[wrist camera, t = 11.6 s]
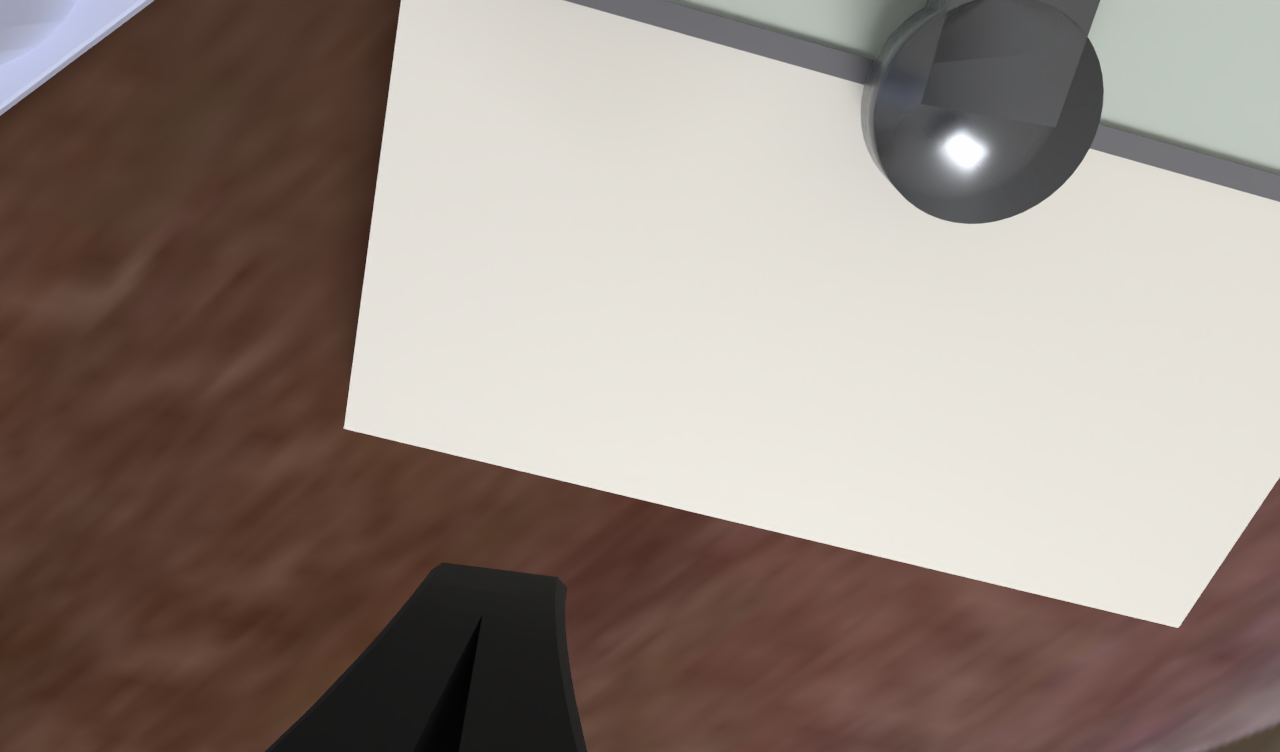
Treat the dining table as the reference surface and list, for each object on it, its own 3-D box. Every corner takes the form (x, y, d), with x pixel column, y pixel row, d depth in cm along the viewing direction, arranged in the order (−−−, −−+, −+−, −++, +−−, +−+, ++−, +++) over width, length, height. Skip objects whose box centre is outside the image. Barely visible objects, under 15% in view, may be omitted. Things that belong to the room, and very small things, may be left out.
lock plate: (362, 401, 19) (315, 470, 16) (580, -1139, 10) (549, -1490, 8) (1152, 591, 20) (1219, 683, 18) (1927, -622, 12) (2270, -777, 9)
